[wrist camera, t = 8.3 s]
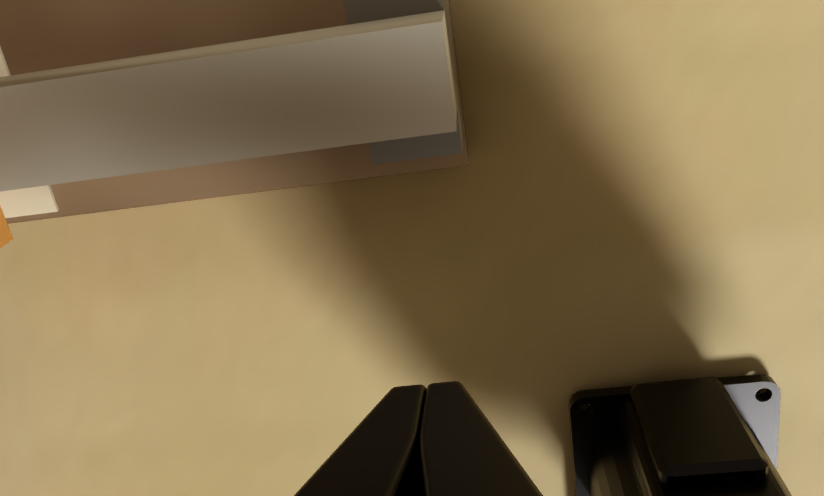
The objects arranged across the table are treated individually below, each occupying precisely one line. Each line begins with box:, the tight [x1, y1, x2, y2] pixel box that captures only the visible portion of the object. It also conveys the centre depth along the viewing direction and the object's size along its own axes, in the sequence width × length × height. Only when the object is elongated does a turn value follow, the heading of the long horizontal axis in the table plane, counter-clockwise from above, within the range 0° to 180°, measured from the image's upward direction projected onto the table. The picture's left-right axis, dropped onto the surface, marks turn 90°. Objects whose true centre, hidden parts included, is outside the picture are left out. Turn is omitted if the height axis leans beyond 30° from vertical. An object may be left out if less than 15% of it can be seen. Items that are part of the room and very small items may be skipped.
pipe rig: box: [0, 0, 468, 224], centre depth 18 cm, size 7×19×7 cm, turn 99°
